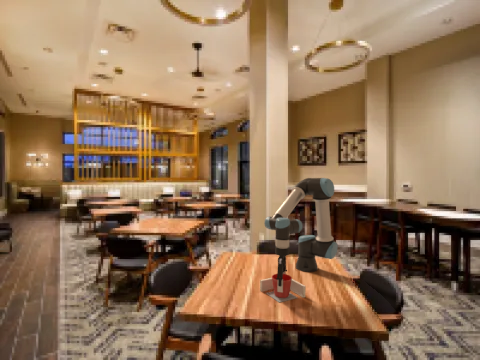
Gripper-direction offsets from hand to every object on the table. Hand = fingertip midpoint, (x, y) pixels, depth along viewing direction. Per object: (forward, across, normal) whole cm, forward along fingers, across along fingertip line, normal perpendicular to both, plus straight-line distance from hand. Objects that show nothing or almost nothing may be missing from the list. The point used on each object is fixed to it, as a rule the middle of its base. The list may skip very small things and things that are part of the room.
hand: (281, 287), depth 141 cm
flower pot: (+4, 0, 0) cm, 4 cm away
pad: (+4, 0, 0) cm, 4 cm away
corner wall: (+4, -2, 0) cm, 5 cm away
